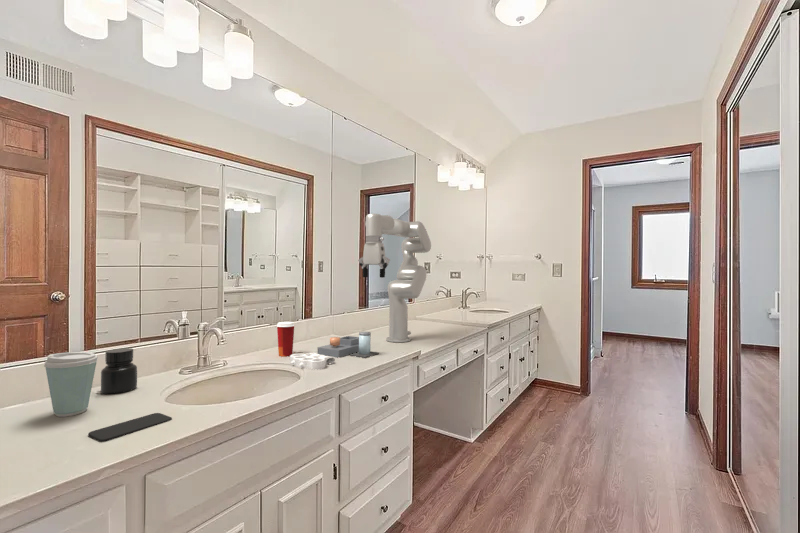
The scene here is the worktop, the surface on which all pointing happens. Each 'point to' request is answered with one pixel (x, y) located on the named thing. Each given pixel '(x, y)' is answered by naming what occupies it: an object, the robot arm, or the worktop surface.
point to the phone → (128, 427)
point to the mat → (364, 355)
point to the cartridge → (364, 342)
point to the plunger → (335, 341)
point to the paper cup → (285, 338)
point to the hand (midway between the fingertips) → (373, 277)
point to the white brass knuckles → (310, 360)
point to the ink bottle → (118, 372)
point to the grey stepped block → (341, 347)
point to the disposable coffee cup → (70, 381)
